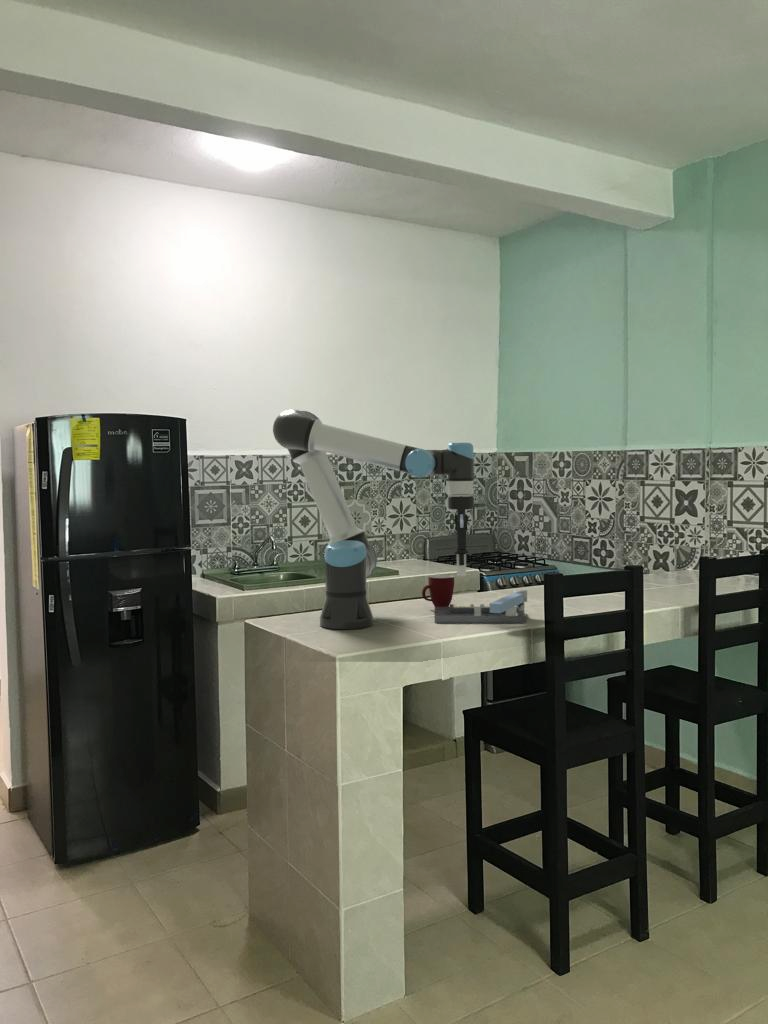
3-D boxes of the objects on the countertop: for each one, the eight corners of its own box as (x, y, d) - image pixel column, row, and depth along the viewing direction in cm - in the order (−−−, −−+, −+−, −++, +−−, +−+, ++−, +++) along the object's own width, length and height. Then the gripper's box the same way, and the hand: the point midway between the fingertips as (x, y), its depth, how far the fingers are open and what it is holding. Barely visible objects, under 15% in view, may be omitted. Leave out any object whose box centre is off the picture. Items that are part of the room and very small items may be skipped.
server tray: (434, 622, 240) (434, 607, 240) (434, 613, 255) (434, 598, 255) (527, 622, 238) (527, 607, 238) (521, 613, 253) (521, 598, 253)
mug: (430, 611, 257) (430, 579, 257) (417, 608, 264) (416, 576, 264) (459, 608, 262) (459, 576, 262) (445, 604, 269) (445, 573, 269)
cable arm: (515, 599, 248) (515, 589, 248) (529, 600, 246) (528, 590, 246) (487, 612, 228) (487, 601, 228) (501, 613, 226) (501, 602, 226)
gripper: (474, 496, 238) (475, 579, 239) (473, 494, 251) (473, 572, 252) (448, 496, 238) (448, 579, 240) (447, 494, 251) (448, 573, 253)
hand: (461, 575), depth 246 cm, fingers closed
